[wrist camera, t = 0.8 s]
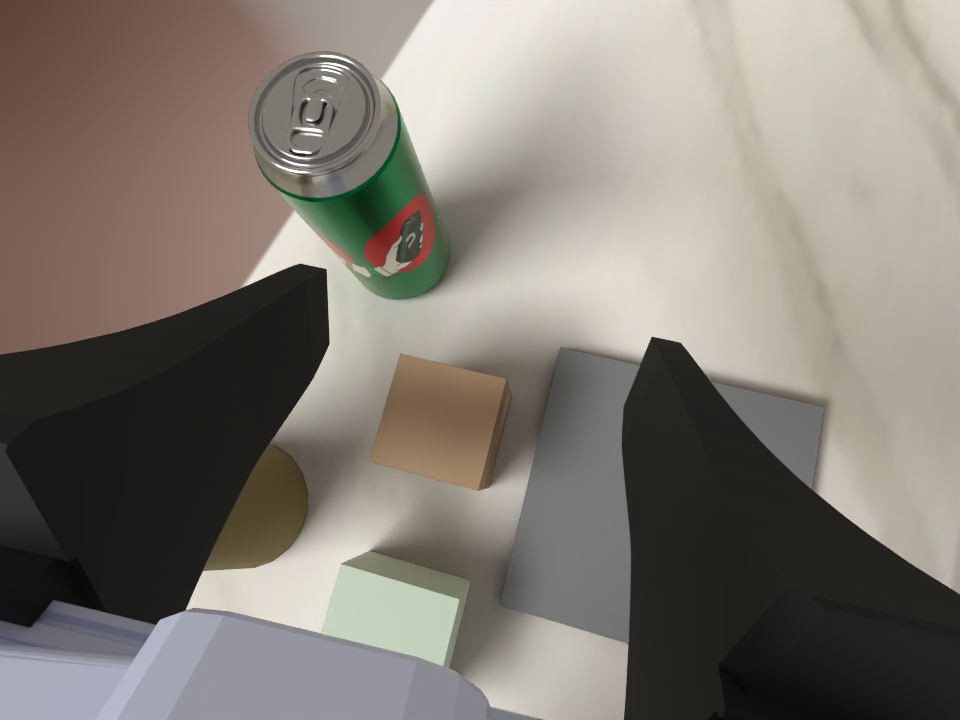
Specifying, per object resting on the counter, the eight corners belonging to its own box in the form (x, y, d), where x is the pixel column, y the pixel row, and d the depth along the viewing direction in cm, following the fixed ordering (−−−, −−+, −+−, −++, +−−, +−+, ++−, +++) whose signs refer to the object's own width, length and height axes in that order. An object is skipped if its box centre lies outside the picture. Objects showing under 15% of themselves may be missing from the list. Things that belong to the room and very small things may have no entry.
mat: (775, 684, 23) (782, 689, 23) (500, 601, 25) (499, 604, 24) (817, 408, 25) (824, 407, 25) (560, 349, 27) (560, 347, 27)
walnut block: (488, 487, 26) (478, 490, 21) (399, 463, 27) (369, 461, 22) (511, 396, 27) (506, 379, 22) (424, 374, 28) (400, 353, 23)
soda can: (459, 217, 29) (406, 45, 17) (442, 309, 28) (374, 192, 16) (367, 207, 30) (256, 35, 18) (347, 296, 29) (218, 176, 17)
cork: (300, 430, 28) (149, 403, 17) (315, 555, 26) (163, 612, 16) (185, 454, 28) (-33, 442, 17) (195, 579, 27) (-35, 650, 16)
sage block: (443, 694, 25) (425, 735, 21) (339, 660, 25) (303, 694, 22) (471, 580, 26) (459, 599, 22) (370, 550, 26) (340, 563, 22)
